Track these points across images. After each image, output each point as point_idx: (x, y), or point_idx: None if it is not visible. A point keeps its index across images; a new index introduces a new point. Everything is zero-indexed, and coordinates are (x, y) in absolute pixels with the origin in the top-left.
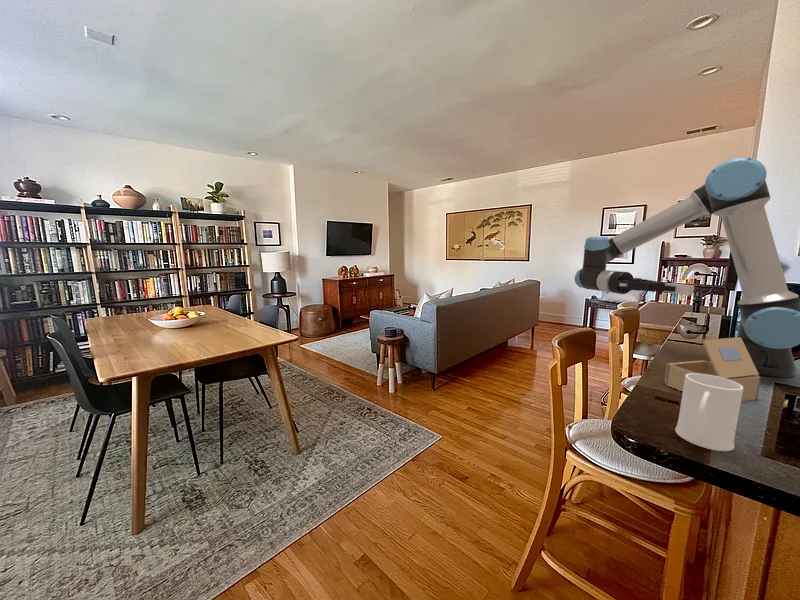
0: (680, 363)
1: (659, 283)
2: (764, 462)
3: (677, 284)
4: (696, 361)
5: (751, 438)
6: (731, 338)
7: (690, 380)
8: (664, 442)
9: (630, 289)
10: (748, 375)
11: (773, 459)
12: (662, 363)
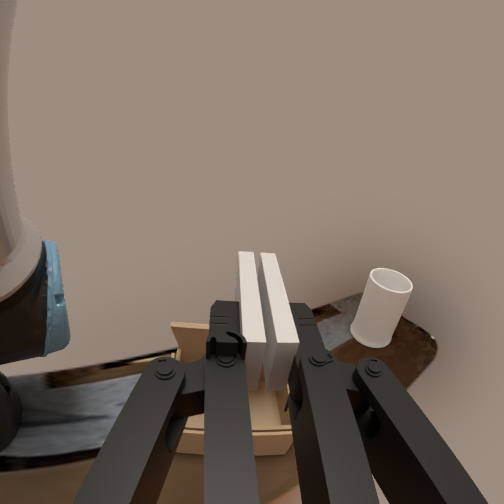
0: (261, 427)
1: (333, 359)
2: (347, 308)
3: (277, 288)
4: (195, 430)
5: (321, 327)
6: (206, 324)
7: (411, 284)
8: (409, 332)
9: None
10: (203, 351)
11: (336, 309)
12: None
